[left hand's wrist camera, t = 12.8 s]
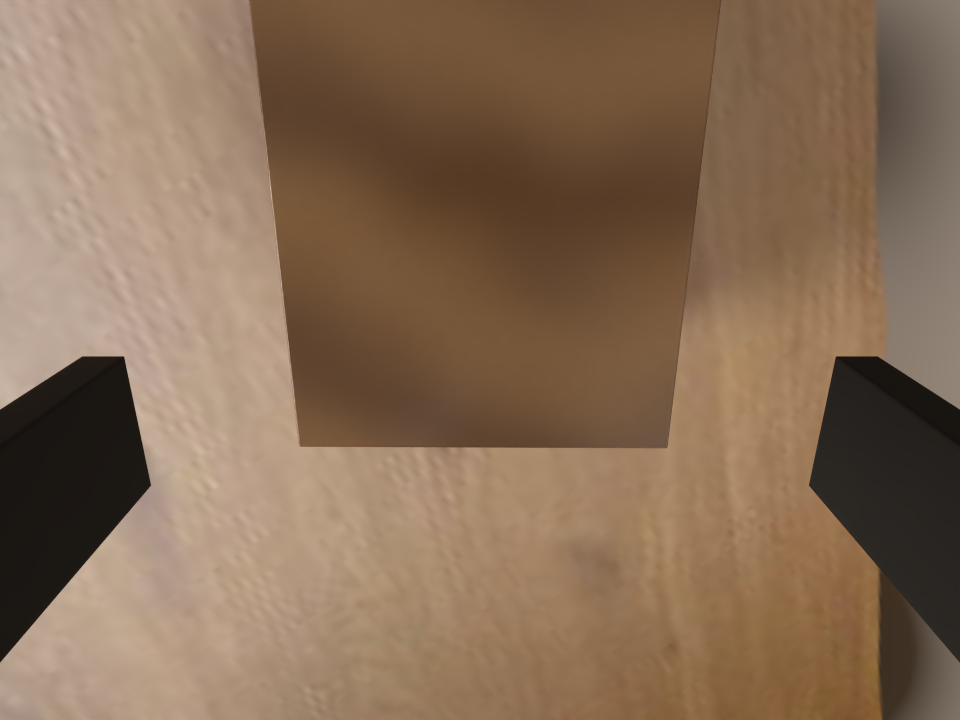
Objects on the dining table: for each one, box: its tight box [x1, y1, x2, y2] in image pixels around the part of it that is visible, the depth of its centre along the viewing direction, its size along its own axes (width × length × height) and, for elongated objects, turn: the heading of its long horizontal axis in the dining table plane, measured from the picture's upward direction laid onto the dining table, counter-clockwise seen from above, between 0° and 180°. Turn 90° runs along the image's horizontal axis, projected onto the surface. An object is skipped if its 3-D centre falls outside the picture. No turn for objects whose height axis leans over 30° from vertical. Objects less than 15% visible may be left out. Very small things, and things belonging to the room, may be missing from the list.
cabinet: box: [249, 0, 721, 448], centre depth 22 cm, size 17×11×10 cm, turn 0°
